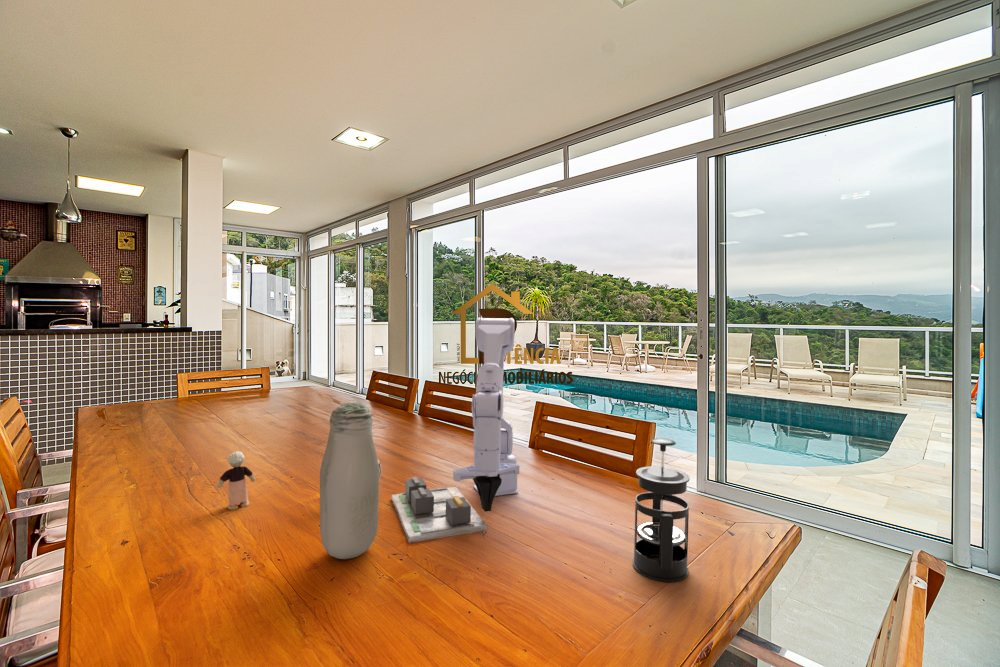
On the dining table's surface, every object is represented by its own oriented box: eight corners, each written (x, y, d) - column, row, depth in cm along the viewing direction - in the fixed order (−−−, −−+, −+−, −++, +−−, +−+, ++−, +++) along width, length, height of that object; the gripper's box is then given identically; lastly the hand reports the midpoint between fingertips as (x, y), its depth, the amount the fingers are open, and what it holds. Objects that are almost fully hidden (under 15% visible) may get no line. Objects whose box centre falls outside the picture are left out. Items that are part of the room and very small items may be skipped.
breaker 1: (421, 492, 114) (422, 475, 114) (426, 499, 109) (426, 482, 109) (405, 494, 112) (405, 477, 112) (409, 501, 108) (409, 484, 107)
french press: (629, 550, 89) (632, 431, 89) (681, 555, 88) (684, 433, 87) (636, 584, 78) (639, 447, 77) (696, 591, 76) (700, 451, 75)
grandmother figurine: (249, 499, 112) (248, 446, 111) (257, 503, 109) (257, 449, 109) (214, 510, 105) (213, 454, 105) (222, 514, 103) (222, 457, 103)
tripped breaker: (463, 512, 102) (463, 494, 102) (470, 522, 97) (470, 503, 97) (445, 515, 100) (445, 496, 100) (451, 525, 96) (452, 505, 96)
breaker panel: (455, 491, 118) (455, 485, 118) (486, 530, 97) (486, 523, 97) (391, 499, 113) (391, 493, 113) (408, 542, 91) (408, 535, 91)
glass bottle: (346, 574, 80) (347, 411, 79) (309, 557, 85) (309, 404, 84) (389, 550, 88) (390, 402, 87) (352, 536, 94) (352, 397, 93)
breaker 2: (428, 503, 107) (428, 485, 107) (433, 512, 102) (433, 493, 102) (411, 506, 105) (411, 488, 105) (415, 514, 101) (415, 496, 100)
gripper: (459, 455, 94) (459, 522, 95) (525, 449, 100) (524, 512, 100) (450, 446, 101) (450, 508, 101) (512, 441, 106) (511, 500, 107)
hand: (486, 509), depth 101 cm, fingers closed
